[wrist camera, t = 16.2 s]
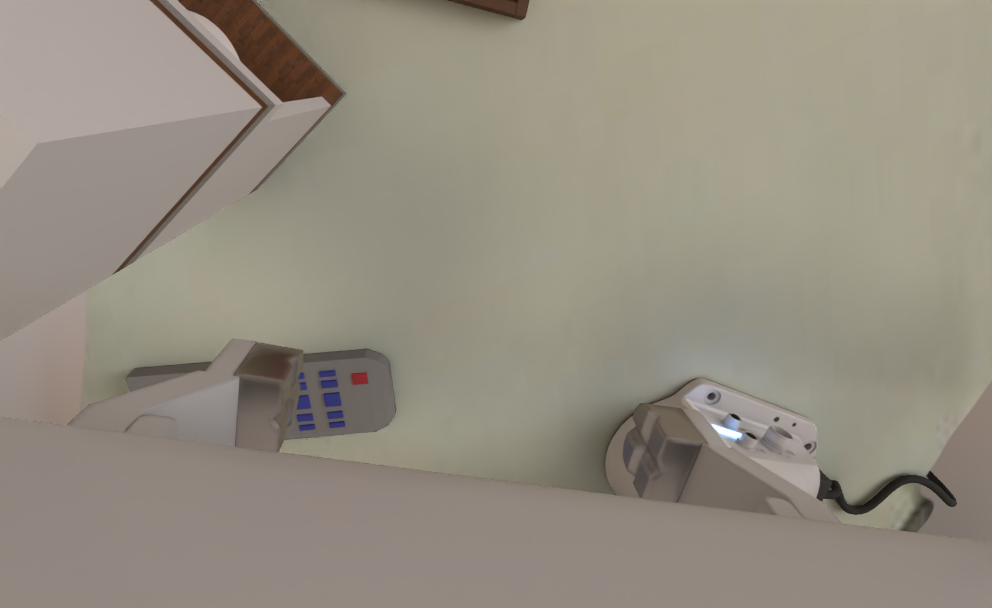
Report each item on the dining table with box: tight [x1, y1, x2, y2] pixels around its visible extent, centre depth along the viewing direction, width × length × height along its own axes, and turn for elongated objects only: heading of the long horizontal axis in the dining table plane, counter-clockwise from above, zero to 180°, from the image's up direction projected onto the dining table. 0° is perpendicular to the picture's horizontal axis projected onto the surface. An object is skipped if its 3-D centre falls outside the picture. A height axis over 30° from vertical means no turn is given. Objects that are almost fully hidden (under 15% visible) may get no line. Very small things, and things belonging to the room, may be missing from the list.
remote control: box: [126, 349, 396, 440], centre depth 51 cm, size 8×23×2 cm, turn 93°
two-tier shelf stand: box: [0, 0, 346, 341], centre depth 26 cm, size 11×11×35 cm
